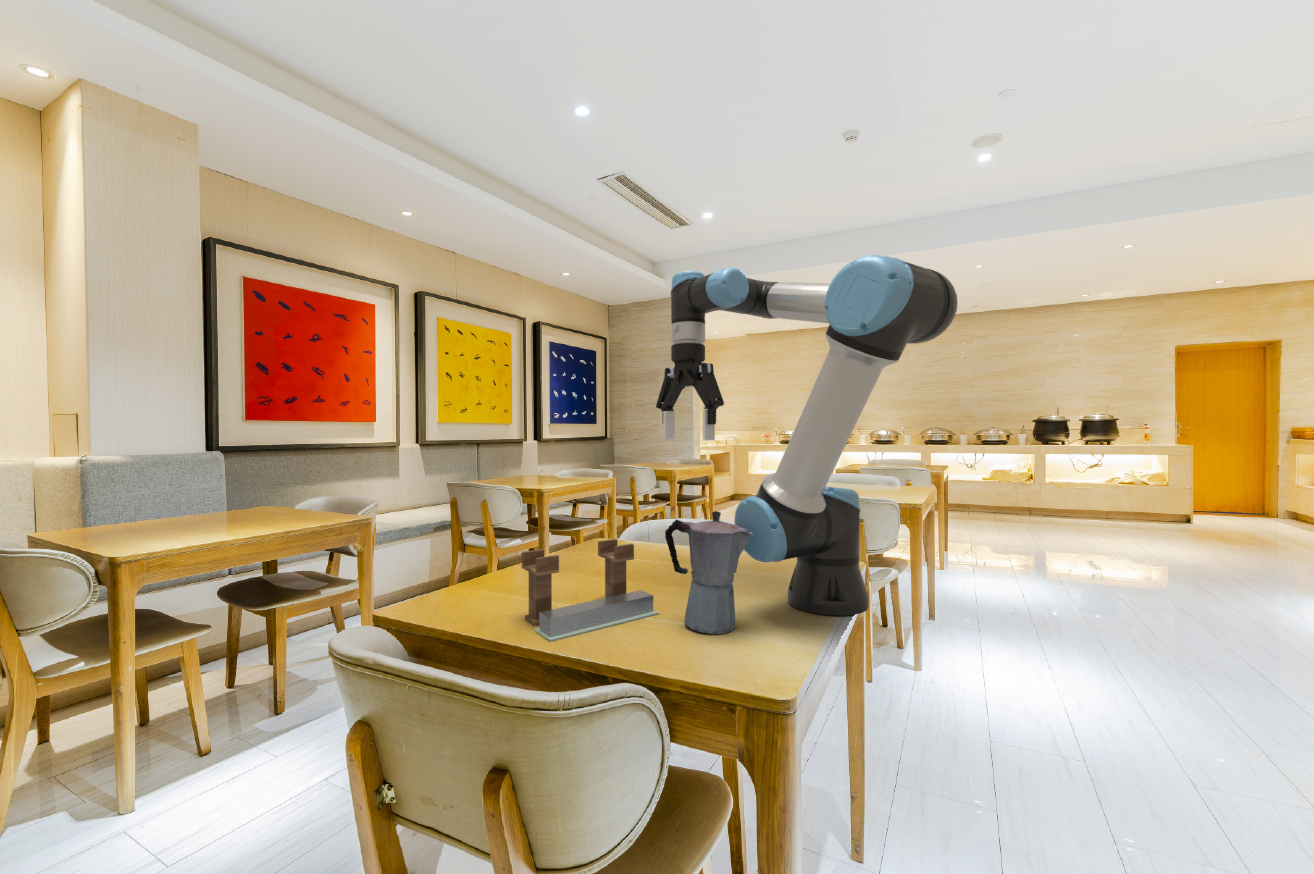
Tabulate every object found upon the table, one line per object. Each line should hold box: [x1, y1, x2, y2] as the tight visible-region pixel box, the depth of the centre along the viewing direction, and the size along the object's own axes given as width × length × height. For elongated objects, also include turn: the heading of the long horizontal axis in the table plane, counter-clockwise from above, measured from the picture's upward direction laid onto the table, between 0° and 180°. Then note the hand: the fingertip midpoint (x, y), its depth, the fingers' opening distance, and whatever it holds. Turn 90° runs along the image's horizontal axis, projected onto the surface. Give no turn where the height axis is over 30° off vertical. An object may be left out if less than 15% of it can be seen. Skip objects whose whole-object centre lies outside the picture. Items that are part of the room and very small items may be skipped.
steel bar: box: [538, 589, 654, 637], centre depth 98 cm, size 4×21×3 cm, turn 128°
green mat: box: [533, 609, 660, 642], centre depth 98 cm, size 6×22×1 cm, turn 127°
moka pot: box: [664, 510, 753, 635], centre depth 95 cm, size 10×15×20 cm, turn 78°
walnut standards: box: [521, 538, 635, 627], centre depth 103 cm, size 7×20×12 cm, turn 127°
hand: (687, 440), depth 123 cm, fingers open, 13 cm apart
